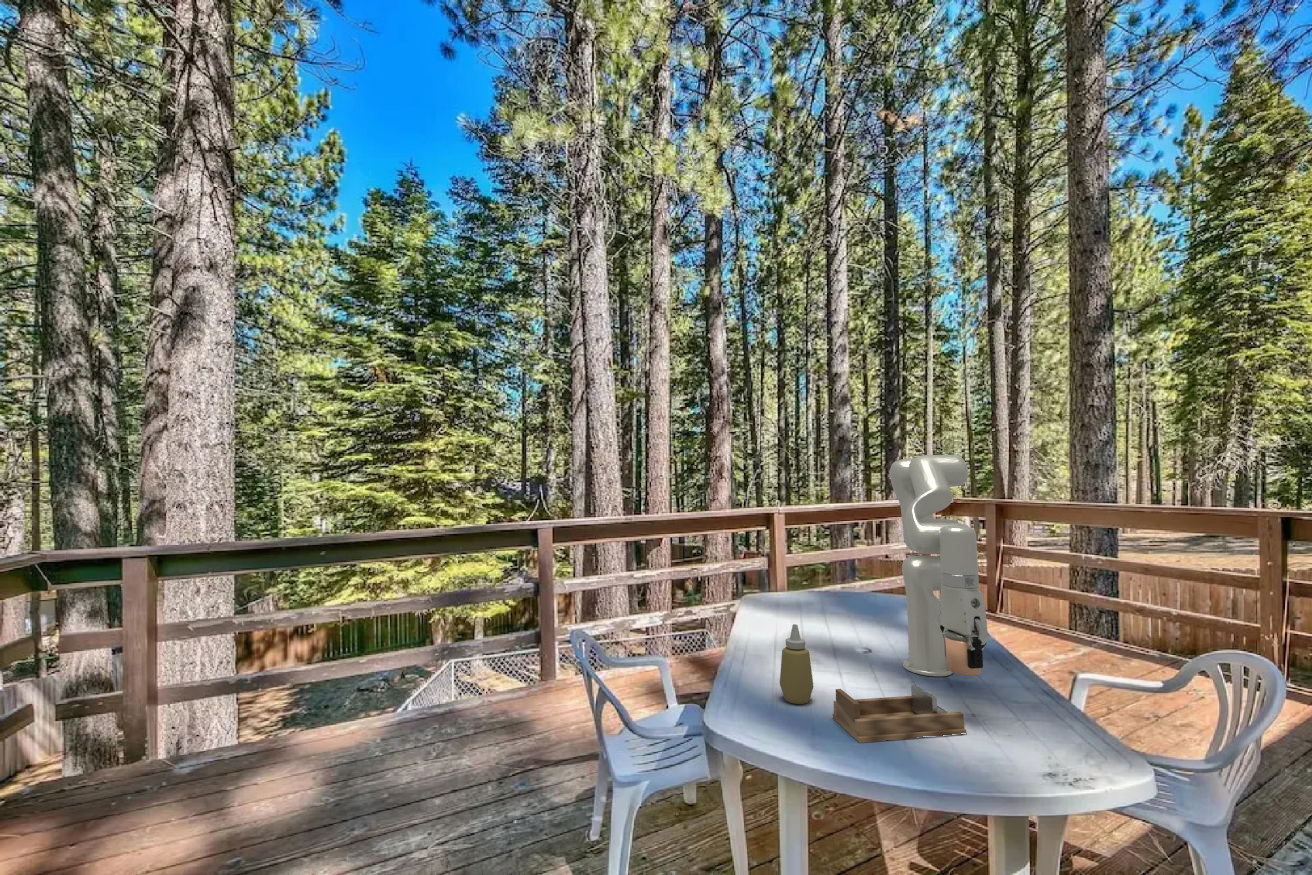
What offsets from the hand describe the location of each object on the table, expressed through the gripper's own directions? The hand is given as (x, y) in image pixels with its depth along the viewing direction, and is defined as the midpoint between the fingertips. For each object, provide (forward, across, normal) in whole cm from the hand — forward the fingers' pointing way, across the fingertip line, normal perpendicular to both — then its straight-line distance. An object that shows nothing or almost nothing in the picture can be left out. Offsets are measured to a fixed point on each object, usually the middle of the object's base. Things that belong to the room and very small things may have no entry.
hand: (963, 661), depth 124 cm
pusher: (+12, 0, +9) cm, 15 cm away
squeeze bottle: (+13, +17, +32) cm, 39 cm away
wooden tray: (+13, 0, +15) cm, 20 cm away
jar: (+2, 0, 0) cm, 2 cm away
